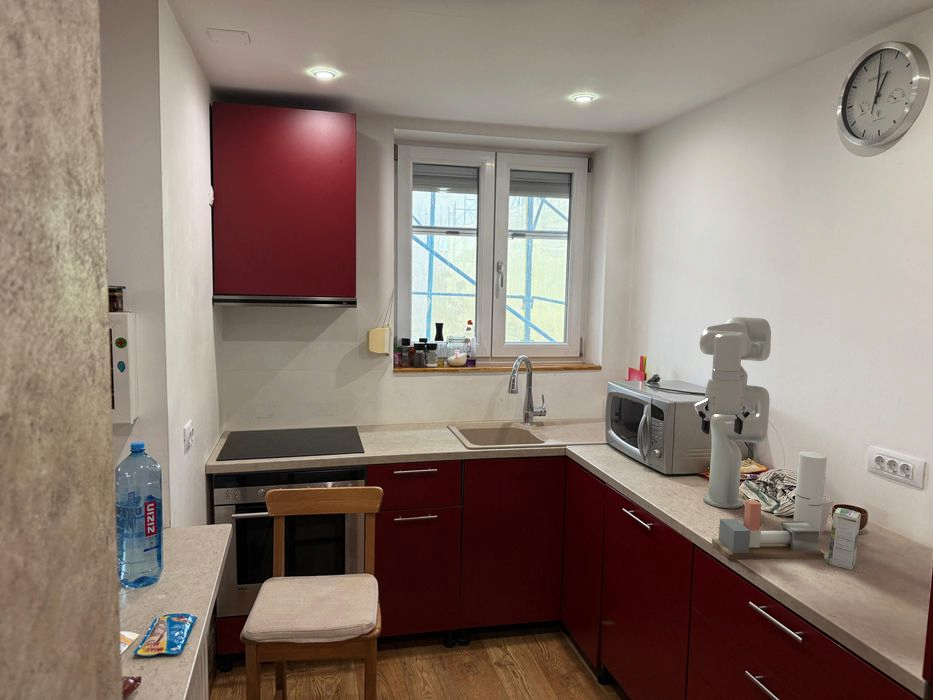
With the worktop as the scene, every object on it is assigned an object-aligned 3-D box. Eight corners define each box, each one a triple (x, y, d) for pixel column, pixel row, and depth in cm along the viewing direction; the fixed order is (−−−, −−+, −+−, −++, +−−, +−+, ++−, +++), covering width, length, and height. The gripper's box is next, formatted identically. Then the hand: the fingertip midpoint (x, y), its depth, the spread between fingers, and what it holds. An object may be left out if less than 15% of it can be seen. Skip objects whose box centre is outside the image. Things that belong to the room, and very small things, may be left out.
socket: (718, 540, 179) (720, 518, 178) (733, 539, 179) (735, 518, 179) (732, 553, 171) (734, 530, 170) (748, 552, 171) (750, 530, 170)
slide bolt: (732, 540, 177) (735, 499, 176) (786, 540, 178) (790, 499, 177) (740, 547, 173) (743, 505, 171) (796, 547, 174) (799, 505, 172)
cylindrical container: (795, 529, 192) (802, 449, 189) (821, 535, 187) (829, 454, 184) (789, 536, 186) (796, 454, 183) (816, 543, 182) (824, 459, 179)
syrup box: (831, 557, 173) (836, 506, 171) (856, 563, 169) (861, 512, 168) (827, 564, 169) (832, 512, 167) (852, 571, 165) (858, 518, 163)
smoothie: (826, 526, 194) (830, 483, 193) (832, 534, 188) (836, 489, 187) (803, 524, 196) (807, 480, 194) (809, 532, 190) (813, 487, 188)
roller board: (711, 543, 180) (713, 519, 179) (802, 543, 182) (804, 519, 181) (728, 559, 170) (730, 533, 169) (824, 559, 172) (826, 533, 171)
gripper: (747, 374, 188) (743, 430, 190) (691, 373, 187) (687, 429, 189) (761, 378, 180) (756, 436, 182) (702, 377, 179) (698, 436, 181)
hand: (721, 433), depth 186 cm, fingers open, 9 cm apart
